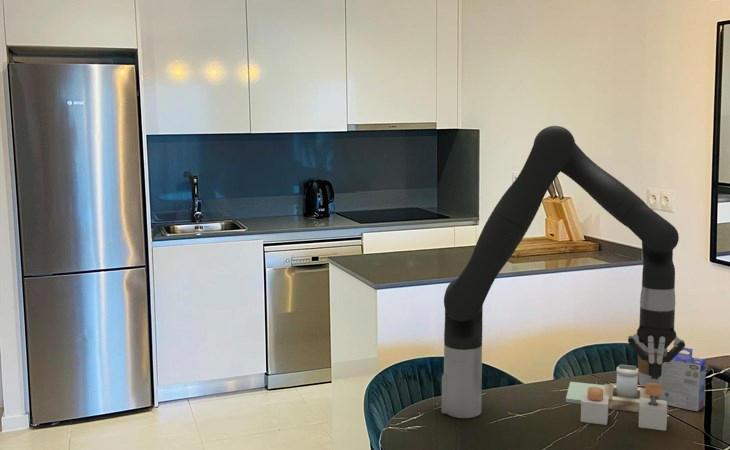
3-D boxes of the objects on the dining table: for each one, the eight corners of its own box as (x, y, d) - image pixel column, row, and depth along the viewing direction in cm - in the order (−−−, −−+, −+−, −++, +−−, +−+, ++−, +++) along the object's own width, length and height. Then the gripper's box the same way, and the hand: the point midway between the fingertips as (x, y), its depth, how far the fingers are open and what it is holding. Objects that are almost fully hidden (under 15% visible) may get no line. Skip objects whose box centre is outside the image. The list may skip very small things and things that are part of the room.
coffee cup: (672, 389, 196) (675, 335, 194) (640, 390, 196) (642, 335, 194) (660, 379, 204) (662, 326, 202) (629, 379, 204) (631, 326, 202)
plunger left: (586, 415, 177) (587, 391, 176) (587, 409, 180) (588, 386, 179) (602, 417, 175) (603, 393, 174) (602, 411, 179) (603, 388, 178)
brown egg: (644, 411, 173) (645, 387, 172) (644, 406, 176) (645, 382, 175) (661, 413, 171) (662, 388, 171) (660, 408, 175) (662, 383, 174)
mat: (565, 402, 188) (565, 398, 188) (570, 385, 200) (570, 381, 200) (602, 406, 185) (602, 402, 185) (604, 388, 197) (605, 385, 197)
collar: (602, 408, 184) (602, 398, 184) (604, 392, 194) (604, 383, 194) (649, 413, 180) (650, 403, 180) (649, 397, 191) (649, 388, 190)
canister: (615, 405, 186) (616, 367, 185) (615, 398, 191) (617, 361, 189) (637, 407, 184) (638, 370, 183) (637, 400, 189) (638, 363, 188)
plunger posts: (580, 421, 176) (581, 401, 175) (582, 410, 183) (583, 391, 182) (666, 432, 169) (667, 411, 169) (665, 420, 176) (666, 400, 175)
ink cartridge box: (704, 405, 185) (707, 350, 183) (699, 412, 181) (702, 355, 179) (663, 397, 191) (666, 343, 189) (657, 404, 187) (660, 348, 185)
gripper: (626, 307, 169) (624, 380, 171) (689, 311, 165) (686, 386, 167) (627, 300, 176) (625, 370, 178) (687, 303, 171) (684, 375, 174)
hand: (654, 377), depth 173 cm, fingers closed
